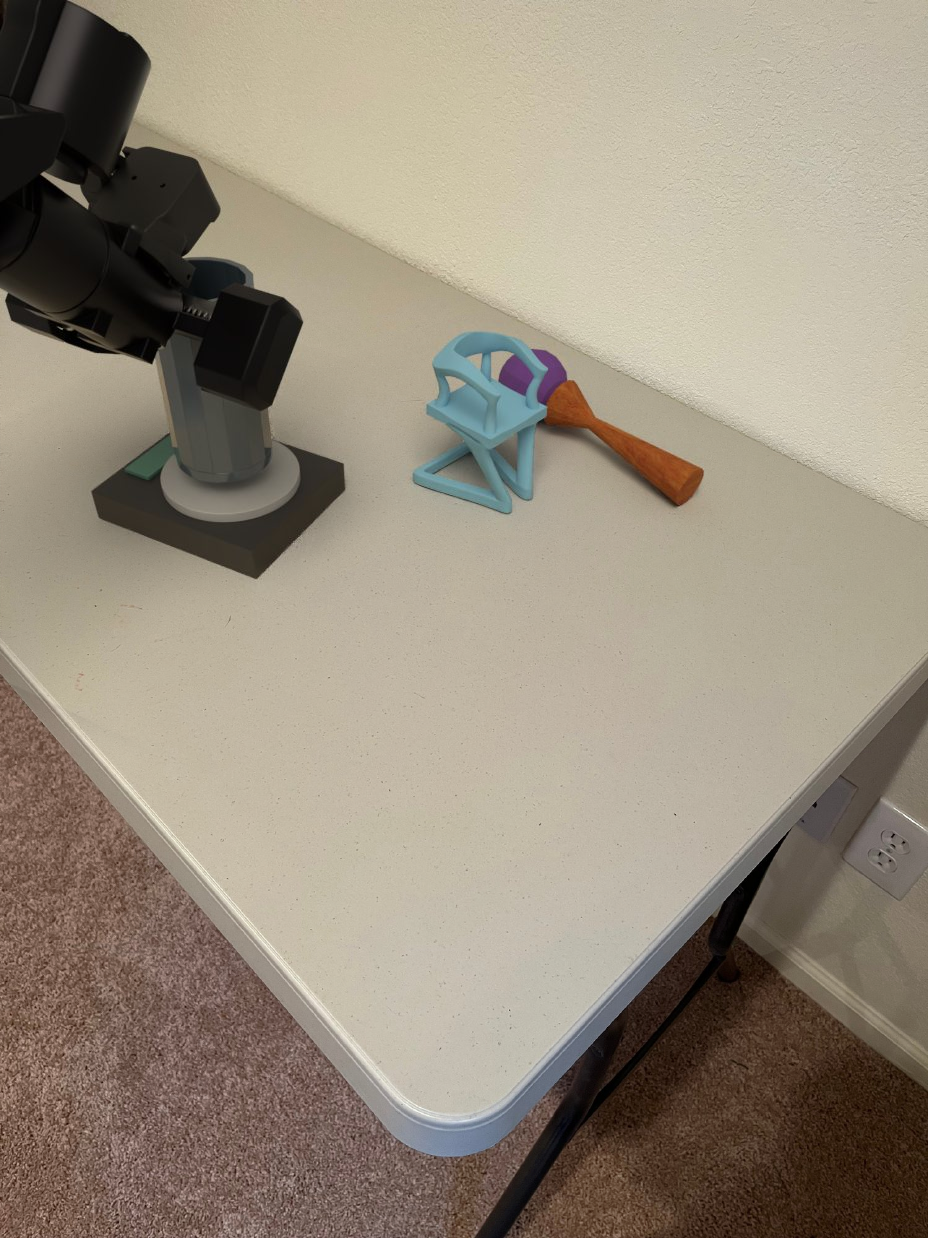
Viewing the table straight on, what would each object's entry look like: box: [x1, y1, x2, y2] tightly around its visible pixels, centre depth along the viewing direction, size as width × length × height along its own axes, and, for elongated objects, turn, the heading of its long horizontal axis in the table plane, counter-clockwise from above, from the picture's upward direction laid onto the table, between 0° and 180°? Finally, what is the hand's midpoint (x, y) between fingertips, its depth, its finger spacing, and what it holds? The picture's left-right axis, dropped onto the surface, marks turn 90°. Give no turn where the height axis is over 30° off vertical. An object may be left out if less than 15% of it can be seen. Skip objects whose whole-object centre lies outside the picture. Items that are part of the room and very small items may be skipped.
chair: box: [412, 330, 548, 514], centre depth 69 cm, size 8×8×12 cm
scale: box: [90, 431, 346, 579], centre depth 68 cm, size 14×12×3 cm
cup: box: [154, 256, 273, 483], centre depth 61 cm, size 7×7×13 cm
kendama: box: [497, 348, 705, 506], centre depth 76 cm, size 6×6×20 cm
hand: (225, 363), depth 62 cm, fingers closed on cup, 7 cm apart
